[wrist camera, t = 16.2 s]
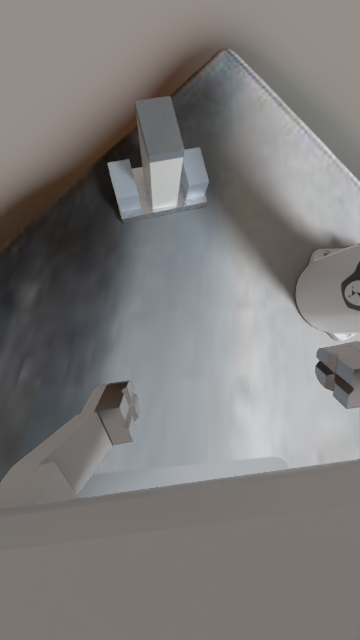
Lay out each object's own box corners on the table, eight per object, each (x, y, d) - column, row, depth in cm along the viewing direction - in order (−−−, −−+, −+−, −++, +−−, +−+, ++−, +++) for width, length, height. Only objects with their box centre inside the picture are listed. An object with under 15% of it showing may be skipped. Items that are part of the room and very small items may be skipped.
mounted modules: (196, 164, 36) (199, 147, 33) (204, 195, 36) (209, 181, 33) (112, 179, 34) (107, 162, 31) (121, 212, 34) (116, 199, 31)
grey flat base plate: (194, 164, 38) (195, 157, 36) (205, 206, 38) (207, 201, 36) (111, 179, 36) (109, 172, 34) (123, 223, 36) (121, 219, 34)
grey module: (167, 166, 35) (170, 95, 25) (177, 204, 35) (184, 150, 25) (142, 171, 35) (134, 100, 24) (152, 209, 35) (149, 156, 24)
